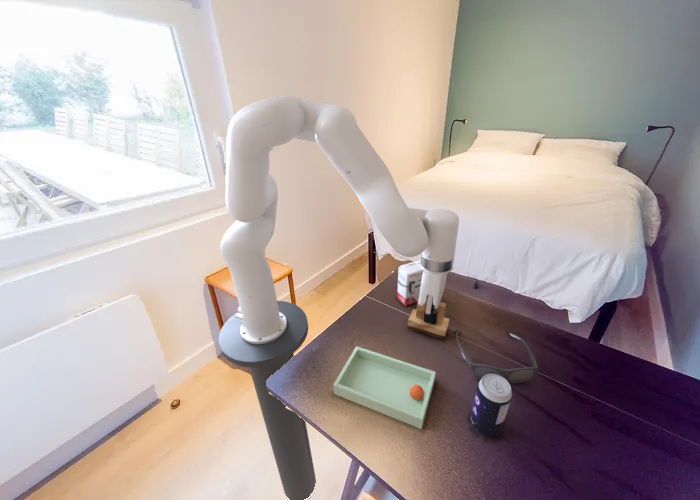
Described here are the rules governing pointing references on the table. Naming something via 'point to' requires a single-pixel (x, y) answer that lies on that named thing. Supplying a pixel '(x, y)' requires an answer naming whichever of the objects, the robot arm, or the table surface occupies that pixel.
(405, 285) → the ink box
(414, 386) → the crumb ball
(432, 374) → the tray
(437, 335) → the brush
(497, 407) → the beverage can
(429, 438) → the table surface
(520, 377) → the sunglasses
